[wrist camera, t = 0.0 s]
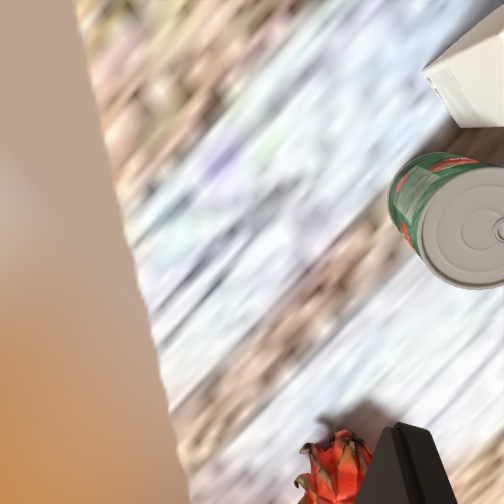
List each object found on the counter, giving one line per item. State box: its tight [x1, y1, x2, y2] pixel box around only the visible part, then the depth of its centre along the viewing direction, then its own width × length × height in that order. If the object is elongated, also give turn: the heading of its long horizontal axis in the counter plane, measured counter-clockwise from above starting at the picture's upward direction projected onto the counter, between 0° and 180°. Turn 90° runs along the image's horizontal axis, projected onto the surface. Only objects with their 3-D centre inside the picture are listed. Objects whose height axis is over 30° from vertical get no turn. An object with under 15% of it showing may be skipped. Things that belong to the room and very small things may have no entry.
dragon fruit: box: [294, 429, 373, 504], centre depth 43 cm, size 8×8×12 cm
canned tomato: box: [387, 152, 504, 290], centre depth 32 cm, size 8×8×11 cm
